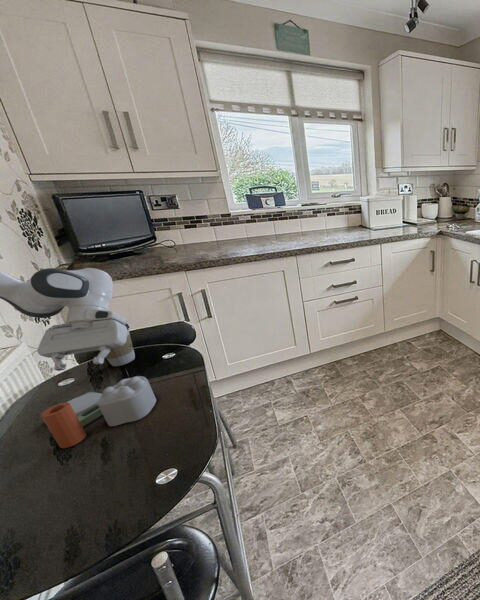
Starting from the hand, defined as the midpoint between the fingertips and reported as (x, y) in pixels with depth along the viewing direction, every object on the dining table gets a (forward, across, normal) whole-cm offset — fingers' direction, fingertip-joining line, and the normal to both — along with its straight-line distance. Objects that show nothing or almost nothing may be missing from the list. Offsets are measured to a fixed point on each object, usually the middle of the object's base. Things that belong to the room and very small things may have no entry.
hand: (78, 366), depth 90 cm
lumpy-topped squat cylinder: (+12, +10, +10) cm, 18 cm away
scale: (+10, -5, +12) cm, 16 cm away
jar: (+19, 0, +3) cm, 19 cm away
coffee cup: (-12, -12, +34) cm, 38 cm away
